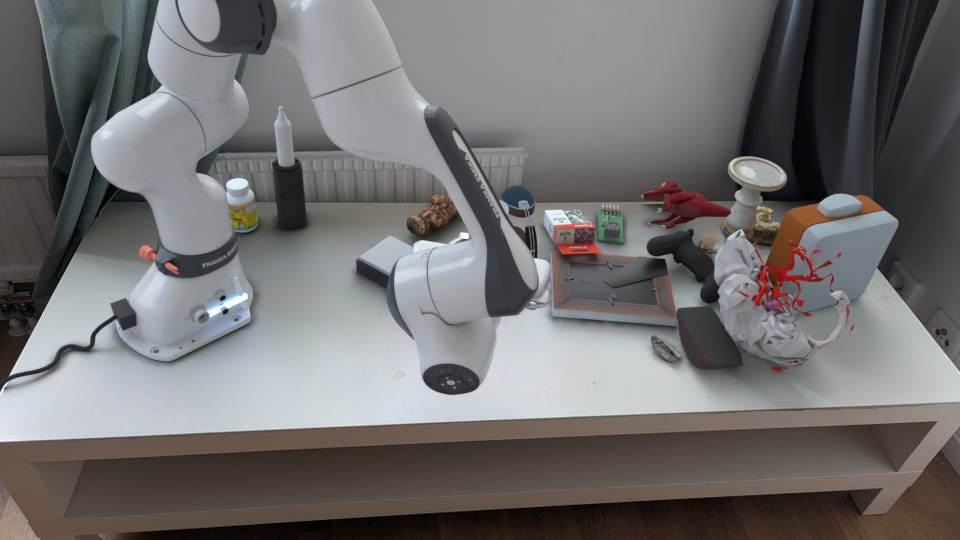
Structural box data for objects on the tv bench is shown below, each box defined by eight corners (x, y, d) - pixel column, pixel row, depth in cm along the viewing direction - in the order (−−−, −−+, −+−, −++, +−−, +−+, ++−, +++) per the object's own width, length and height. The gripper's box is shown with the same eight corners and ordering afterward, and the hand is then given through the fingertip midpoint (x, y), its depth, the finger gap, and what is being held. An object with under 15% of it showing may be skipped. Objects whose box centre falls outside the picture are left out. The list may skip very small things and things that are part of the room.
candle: (277, 215, 154) (263, 101, 138) (303, 211, 155) (292, 98, 140) (281, 230, 150) (268, 114, 134) (308, 226, 152) (297, 111, 136)
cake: (749, 249, 157) (755, 228, 153) (727, 221, 164) (731, 200, 161) (794, 242, 158) (801, 221, 155) (770, 215, 166) (776, 194, 162)
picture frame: (662, 268, 149) (550, 258, 149) (665, 258, 147) (551, 248, 147) (674, 328, 136) (552, 317, 136) (678, 317, 135) (553, 307, 135)
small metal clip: (671, 366, 129) (677, 368, 131) (680, 355, 129) (686, 358, 131) (645, 344, 132) (651, 347, 135) (653, 333, 132) (659, 336, 134)
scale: (412, 303, 137) (412, 287, 134) (356, 272, 142) (355, 256, 140) (443, 278, 143) (444, 262, 140) (388, 249, 148) (388, 233, 146)
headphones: (480, 216, 156) (508, 296, 141) (488, 156, 145) (520, 235, 131) (509, 214, 157) (541, 293, 143) (520, 153, 147) (555, 232, 132)
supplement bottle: (264, 223, 152) (258, 181, 146) (245, 237, 148) (238, 195, 142) (243, 214, 154) (236, 172, 147) (223, 227, 150) (216, 185, 144)
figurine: (438, 194, 162) (387, 224, 152) (453, 178, 157) (402, 209, 147) (457, 220, 162) (408, 252, 152) (473, 205, 157) (424, 237, 147)
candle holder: (731, 286, 146) (764, 197, 133) (683, 251, 154) (709, 164, 141) (772, 264, 152) (807, 177, 139) (723, 232, 160) (752, 146, 147)
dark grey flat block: (751, 362, 126) (742, 378, 129) (714, 304, 136) (707, 320, 139) (707, 366, 124) (699, 382, 127) (673, 307, 134) (666, 323, 137)
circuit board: (599, 195, 161) (623, 198, 161) (597, 207, 164) (621, 210, 163) (600, 230, 153) (625, 233, 153) (597, 242, 155) (622, 245, 155)
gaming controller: (704, 315, 143) (738, 285, 147) (714, 301, 138) (749, 270, 142) (637, 256, 149) (671, 228, 153) (644, 240, 144) (679, 211, 148)
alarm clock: (831, 270, 152) (872, 182, 139) (862, 299, 146) (908, 209, 133) (753, 288, 146) (788, 198, 133) (783, 319, 140) (823, 227, 127)
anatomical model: (797, 183, 120) (795, 207, 138) (677, 257, 125) (690, 271, 143) (894, 316, 113) (878, 323, 131) (762, 389, 118) (765, 386, 136)
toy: (621, 234, 161) (654, 203, 171) (738, 237, 145) (767, 202, 154) (613, 203, 158) (647, 172, 168) (731, 202, 142) (762, 168, 151)
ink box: (544, 209, 156) (562, 237, 143) (582, 208, 157) (604, 236, 144) (543, 226, 158) (561, 255, 145) (581, 225, 159) (602, 254, 146)
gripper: (550, 293, 104) (558, 233, 114) (400, 269, 105) (422, 212, 116) (544, 328, 108) (552, 267, 118) (399, 303, 109) (421, 245, 120)
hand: (487, 239), depth 117 cm, fingers closed on beverage can, 5 cm apart
